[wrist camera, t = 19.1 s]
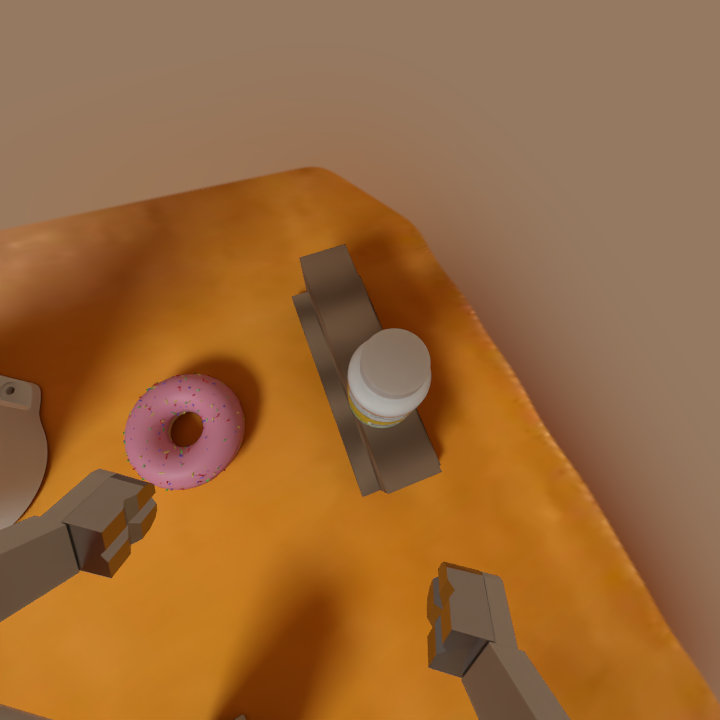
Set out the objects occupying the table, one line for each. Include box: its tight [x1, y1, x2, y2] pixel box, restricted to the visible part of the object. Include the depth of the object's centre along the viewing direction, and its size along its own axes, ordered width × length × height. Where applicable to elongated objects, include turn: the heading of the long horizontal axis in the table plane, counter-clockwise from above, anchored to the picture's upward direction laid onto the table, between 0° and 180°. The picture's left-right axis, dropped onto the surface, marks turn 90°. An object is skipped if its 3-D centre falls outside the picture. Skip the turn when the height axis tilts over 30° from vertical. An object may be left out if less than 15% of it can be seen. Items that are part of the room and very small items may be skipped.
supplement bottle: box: [348, 328, 431, 428], centre depth 24 cm, size 5×5×10 cm
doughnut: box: [123, 372, 245, 491], centre depth 34 cm, size 11×11×4 cm
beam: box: [292, 244, 442, 497], centre depth 34 cm, size 22×8×8 cm, turn 21°
